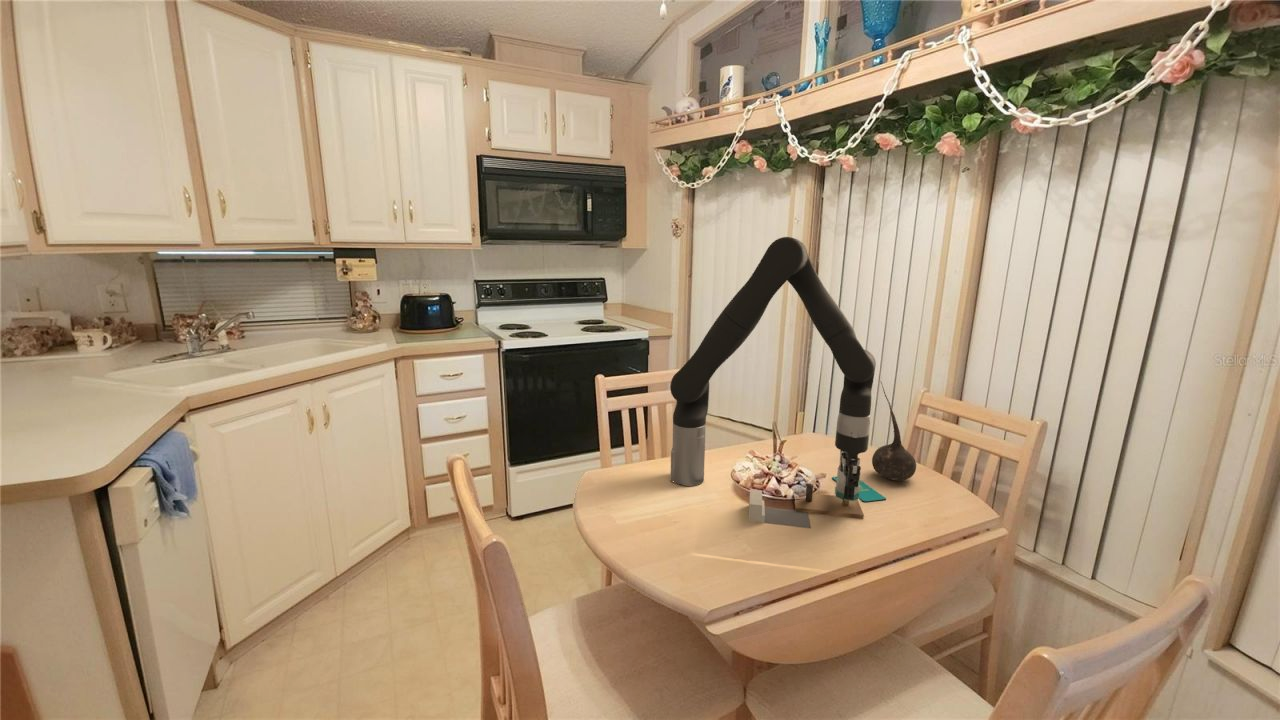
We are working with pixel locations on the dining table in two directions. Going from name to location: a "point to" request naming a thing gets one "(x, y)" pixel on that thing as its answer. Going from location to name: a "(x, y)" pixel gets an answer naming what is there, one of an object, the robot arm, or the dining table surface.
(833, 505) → the pin board
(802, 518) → the feeder mat
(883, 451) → the radish
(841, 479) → the sleeve
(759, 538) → the dining table surface
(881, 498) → the smartphone
